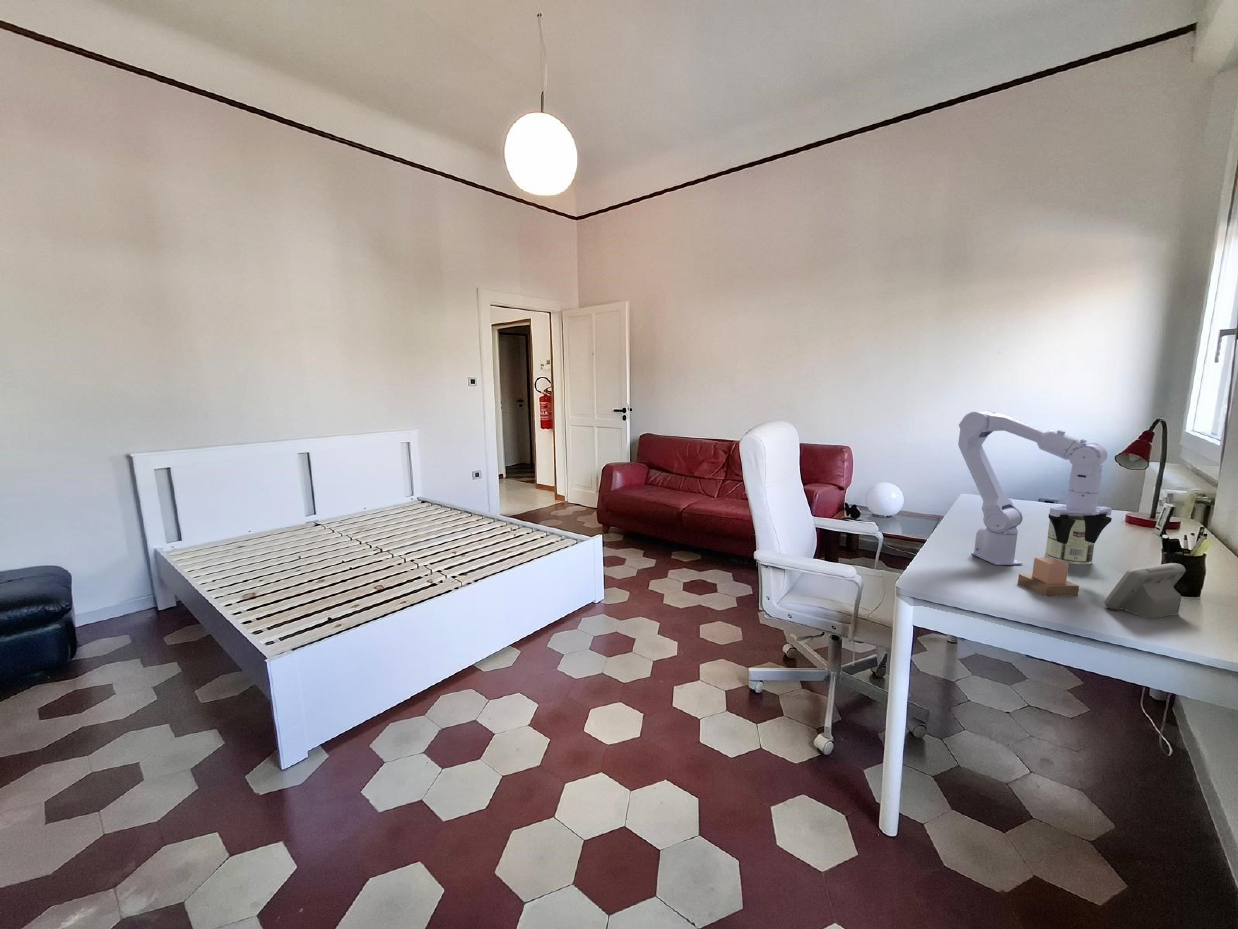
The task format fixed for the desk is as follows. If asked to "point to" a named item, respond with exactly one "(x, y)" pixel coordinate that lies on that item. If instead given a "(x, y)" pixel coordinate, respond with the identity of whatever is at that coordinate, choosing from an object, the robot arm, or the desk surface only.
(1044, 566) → the terracotta block
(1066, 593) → the walnut slab
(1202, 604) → the desk surface
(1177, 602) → the digital clock
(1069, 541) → the coffee can
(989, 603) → the desk surface
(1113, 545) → the desk surface
